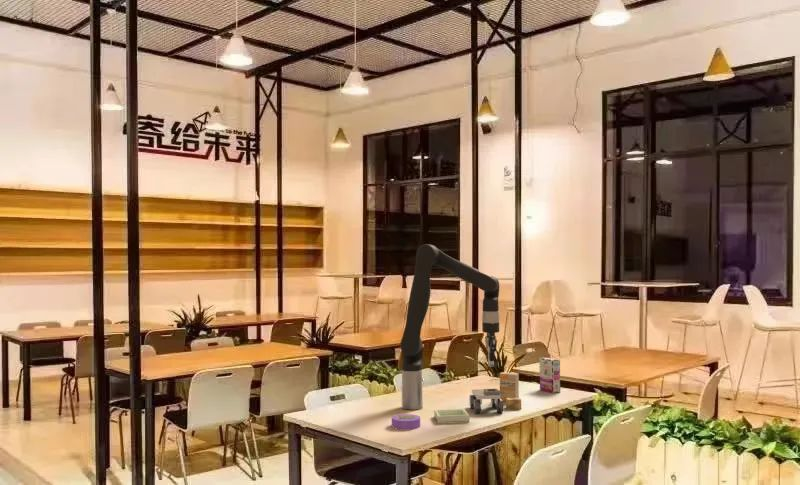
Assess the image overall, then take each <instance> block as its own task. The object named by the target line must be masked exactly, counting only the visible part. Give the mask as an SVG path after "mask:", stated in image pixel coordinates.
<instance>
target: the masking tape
mask: <svg viewBox="0 0 800 485" xmlns="http://www.w3.org/2000/svg"><path fill="white" fill-rule="evenodd" d="M391 427H394V428H393V429H395V428H397V429H396V430H400V429H411V430H415V429H419V428H420V427H421V416H420V415H417V414H412V413H411V414H410V413H400V414H396V415H392V416H391Z"/></svg>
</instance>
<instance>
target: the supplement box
mask: <svg viewBox="0 0 800 485" xmlns="http://www.w3.org/2000/svg"><path fill="white" fill-rule="evenodd" d="M519 374H520V373H517V372H515V373H514V372H503V371H502V372H500V373H499V391H500V395H501V399H502V400H503V402H506V398H520V395H519V394H520V389H519V388H520V387H519V386H520V384H519V382H520V380H519V377H520V376H519Z"/></svg>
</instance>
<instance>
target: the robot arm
mask: <svg viewBox="0 0 800 485" xmlns="http://www.w3.org/2000/svg"><path fill="white" fill-rule="evenodd" d="M433 266H435V267H439V268H441V269H443V270H445V271H448V272H449V273H451V274H452V275H453V276H455V277H457V278H459V279H461V280H462V281H464V282H467V283H469V284H472V285H473V286H475V287H476V288H478V289H480V290H481V291H483V298H482V315H481V322H482V323H481V327H482V329H481V330H482V333H486V336H485V338H484V339H485V347H486V348H485V349H486V351H487V352H488V347H489V361H494V362H495V353H496V352H497V344H498V340H497V336H496V334H495V333H499V332H500V314H499V312H500V311H499V308H500V307H499V297H500V296H499V294H500V281H499V279H498V278H497V277H496V276H493V275H491V276H490V275H487V274H486V273H484V272H481V271H480V270H479V269H477V268H475V267H473V266H471V265H469V264H467V263H465V262H462V261H459V260H457V259H455V258H453V257H452V256H449V255H448V254H446V253H444V252H443V251H442V250H440V249H439V248H438V247H437V246H435V245H433V244H429V243H426V244H425V243H424V244H422V245H420V246H419V247H418V248H417V250H416V254H415V268H414V269H415V270H414V276H413V279H412V283H411V289H410V292H409V298H408V304H407V305H408V306H407V311H406V321H405V326H404V327H405V328H404V330H403V334H402V337H401V341H400V346H399V347H400V350H401V352H402V362H401V363H402V364H401V408H402V410H409V411H410V410H411V411H413V410H415V411H416V410H421V409H423V406H424V405H423V360H424V358H423V357H424V354H423V353H424V352H423V350H424V346H423V339H422V338H421V332H422V326H423V323H424V321H425V319H426V317H427V316H426V315H427V312H428V309H429V304H430V299H431V272H432V268H433ZM487 344H488V346H487ZM492 348H493V349H492Z"/></svg>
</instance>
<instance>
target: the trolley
mask: <svg viewBox="0 0 800 485" xmlns="http://www.w3.org/2000/svg"><path fill="white" fill-rule="evenodd" d="M468 400H469V402H468V403H469V406H470V409H473V410H474V414H476V415H477V414H481V411H482V410H481V409H482V407H481V406H482V405H483V400H490V404H491V407H492V409H493V408H495V409H496V413H500V414H501V413H504V401H503V400H502V399H501V395H500V389H498V388H482V389H478V388H477V389H476V388H475V389H471V394H469V399H468Z"/></svg>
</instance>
